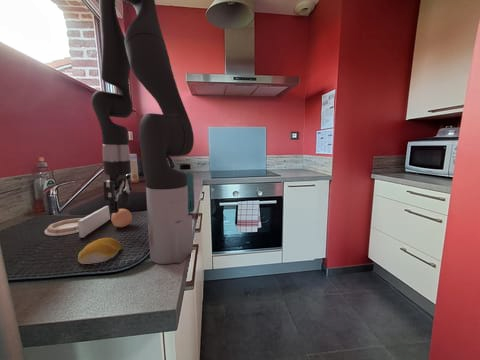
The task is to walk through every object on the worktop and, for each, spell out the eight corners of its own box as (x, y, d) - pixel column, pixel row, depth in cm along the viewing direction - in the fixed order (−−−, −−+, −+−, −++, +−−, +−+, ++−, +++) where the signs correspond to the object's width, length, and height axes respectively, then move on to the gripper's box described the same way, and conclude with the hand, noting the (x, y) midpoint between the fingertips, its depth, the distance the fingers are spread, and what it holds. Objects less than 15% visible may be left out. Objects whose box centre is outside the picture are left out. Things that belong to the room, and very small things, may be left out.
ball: (136, 224, 73) (135, 207, 72) (122, 230, 67) (121, 212, 66) (122, 222, 75) (120, 205, 74) (107, 228, 69) (105, 210, 68)
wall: (107, 219, 78) (105, 206, 77) (109, 219, 78) (108, 205, 77) (79, 237, 62) (77, 221, 61) (83, 237, 62) (81, 221, 61)
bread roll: (124, 246, 57) (123, 232, 57) (112, 263, 49) (111, 247, 48) (89, 249, 56) (88, 234, 55) (71, 268, 47) (69, 251, 46)
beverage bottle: (182, 211, 88) (180, 162, 85) (197, 212, 86) (196, 163, 83) (174, 216, 81) (172, 164, 78) (190, 217, 80) (189, 164, 77)
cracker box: (133, 181, 160) (131, 153, 157) (139, 182, 158) (137, 154, 154) (115, 184, 148) (113, 154, 145) (121, 185, 145) (118, 154, 142)
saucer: (100, 223, 73) (100, 219, 73) (64, 237, 62) (63, 232, 62) (74, 220, 76) (73, 216, 76) (34, 233, 65) (33, 228, 65)
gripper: (114, 157, 74) (118, 202, 77) (91, 160, 60) (96, 216, 63) (137, 157, 75) (140, 202, 78) (119, 161, 61) (123, 215, 64)
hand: (120, 208), depth 70 cm, fingers open, 8 cm apart
